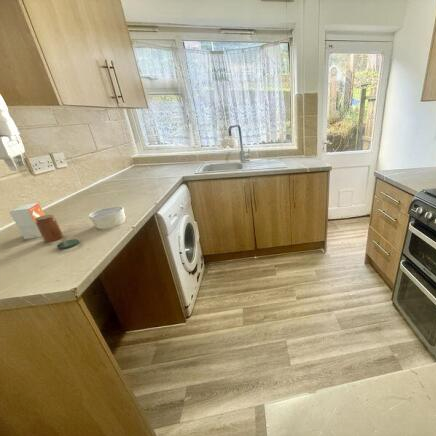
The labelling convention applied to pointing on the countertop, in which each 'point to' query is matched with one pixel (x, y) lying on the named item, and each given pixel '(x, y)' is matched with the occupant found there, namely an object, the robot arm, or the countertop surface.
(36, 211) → the small box
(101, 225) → the ramekin
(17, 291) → the countertop surface
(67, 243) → the lid
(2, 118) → the robot arm
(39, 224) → the jar
